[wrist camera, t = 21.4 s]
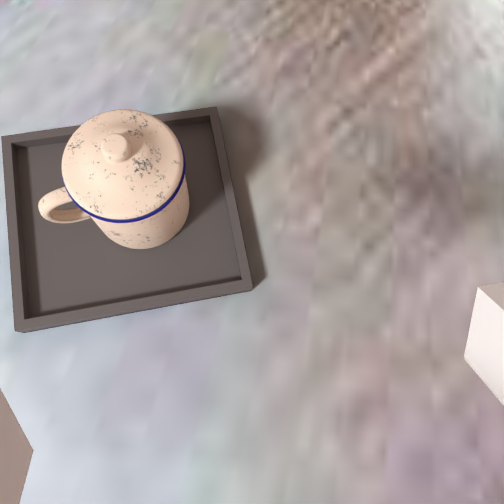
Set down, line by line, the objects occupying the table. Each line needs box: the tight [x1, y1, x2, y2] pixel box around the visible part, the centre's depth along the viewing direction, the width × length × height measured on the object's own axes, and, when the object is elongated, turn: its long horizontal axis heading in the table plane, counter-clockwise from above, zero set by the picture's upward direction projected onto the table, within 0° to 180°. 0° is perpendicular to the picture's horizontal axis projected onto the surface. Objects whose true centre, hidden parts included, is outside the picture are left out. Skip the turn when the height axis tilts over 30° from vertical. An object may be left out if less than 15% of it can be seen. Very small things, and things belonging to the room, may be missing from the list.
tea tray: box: [1, 107, 253, 333], centre depth 41 cm, size 20×18×2 cm
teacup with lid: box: [38, 110, 189, 249], centre depth 36 cm, size 12×9×12 cm
